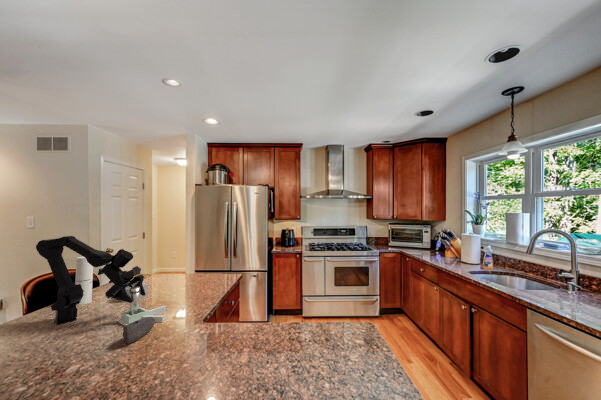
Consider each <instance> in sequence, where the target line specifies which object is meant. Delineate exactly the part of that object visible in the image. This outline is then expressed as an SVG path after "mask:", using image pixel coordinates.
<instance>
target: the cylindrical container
mask: <svg viewBox="0 0 601 400" xmlns="http://www.w3.org/2000/svg"><path fill="white" fill-rule="evenodd" d="M75 260H76V262H75V264H76V265H75V282H74V284H76V285H78V284H80V285H81V287H82V289H83V291H84V292H83V297H82V299H81V301H80V303H79V304H77V305H76V306H83V305H86V304H89V303H90V304H91V303H92V300H93V299H92V298H93V297H92V296H93V279H94V267H93V266H92V265H90V264H89V263H88V262H87V260H86V258H85V257H83V256H77V257H76V259H75Z"/></svg>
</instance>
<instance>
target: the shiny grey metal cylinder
mask: <svg viewBox="0 0 601 400" xmlns="http://www.w3.org/2000/svg"><path fill="white" fill-rule="evenodd" d="M129 294H130V297H131V299H132V300H133V302H132V303H129V311H130V316H131V315H135V314H138V313H140V307H141V299H140V287H139V286H137V287H132V288H130V291H129Z"/></svg>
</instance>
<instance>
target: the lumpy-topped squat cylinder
mask: <svg viewBox="0 0 601 400" xmlns="http://www.w3.org/2000/svg"><path fill="white" fill-rule="evenodd" d="M127 285H128V284H127ZM142 285H143V288H144V291H145V293H146V295H145V296H143V295H141V294H140V300H142V299H144V298H146V297H148V294H149V292H148V291H149V283H147V282H145V281H143V282H142ZM130 288H131V287H129V286H128V287H126V292H127V294H128V295H129V296H130V294H129V291H130ZM120 302H121V303H126V302H125V301H122V300H120Z"/></svg>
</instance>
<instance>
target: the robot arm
mask: <svg viewBox="0 0 601 400" xmlns="http://www.w3.org/2000/svg"><path fill="white" fill-rule="evenodd" d="M64 247H65V248H68V249H69V250H71V251H73V252H75V253H77V254H78V255H79V256H81V257H85V258H86V260H87V262H88V263H89V264H90V265H92V266H93V268H99V267H101V268H99V269H98V272H97V275H98V276H101V275H104V276H106V277H107V279H109V281H108V283H109V284H113V285H112V286H111V287H109V288H108V289H107V291H106V292H105V294H104V295H105V297H106V298H107V299H115V300H119V301H121V300H122V301H125V302H124V303H129V304H130V303H132V302H133V300H132V299H131V297H130V296H129V295H128V294H127V292H126V287H128V286H129V287H131V288H132V287H137V286H139V287H140V294H141V295H143V296H145V295H146V293H145V291H144V288H143V285H142V282H144V279H145V276H144V275H143V274H141V271H142V268H141V267H139V266H138V265H136V266H134V267H132V268H131V270H122V269H121V268H124V267H126V265H128V263H130V262H131V261H132V260H133V259H134V255H133V253H132V252H130V251H128V250H125V249H124V248H121V249H119V250H118V251H117V252H116V253H115V254H111V253H110V252H108V251H107V252H106V251H104V250H98V249H96V248H93V247H92V246H90V245H88V244H86V243H85V242H83V241H81V240H79V239H78V238H76V237H75V236H73V235H66V236H61V237H59V238H58V237H57V238H49V239H41V240H40V241H38V242H37V244H36V245H35V249H36V250H37V253H38V255H40V256H41V257H42V258H44V259H45V260H47V263H48V265H49V268H50V270H51V272H52V275H53V278H54V280H55V282H56V285H57V287H58V289H57V293H56V299H57V300H56V301H55V302H53V303H52V305H50V309H51V311H52V312H53V311H54V312H55V320H53V322H54V323H55V324H56V325H58V326H59V325H63V324H66V323H70V322H74V321H77V320H78V307H77V306H78V305H77V304H79V303H80V301H81V299H82V297H83V292H84V291H83V289H82V287H81V285H80V284H78V285H76V284H75V282H74V281H73V279H72V277H71V274H70V272H69V269H68V267H67V264H66V262H65V260H64V257H63V252H64V250H65V249H64ZM102 266H103V267H102ZM127 284H128V285H127Z"/></svg>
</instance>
